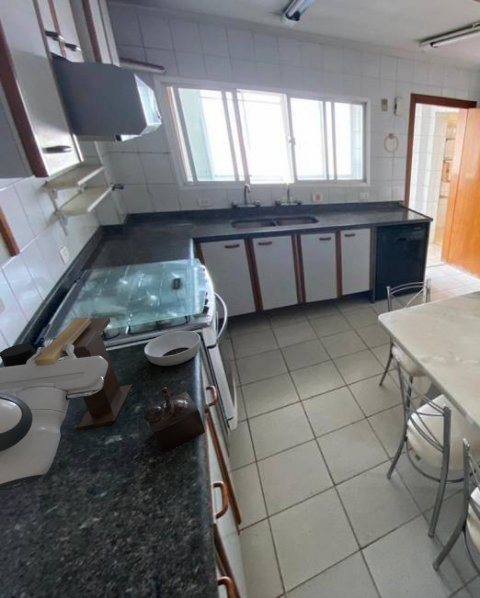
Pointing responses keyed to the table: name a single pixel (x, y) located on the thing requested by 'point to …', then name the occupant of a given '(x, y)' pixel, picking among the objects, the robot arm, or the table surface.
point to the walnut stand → (111, 396)
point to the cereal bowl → (173, 347)
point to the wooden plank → (62, 341)
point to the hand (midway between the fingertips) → (56, 346)
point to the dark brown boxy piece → (174, 421)
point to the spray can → (17, 354)
